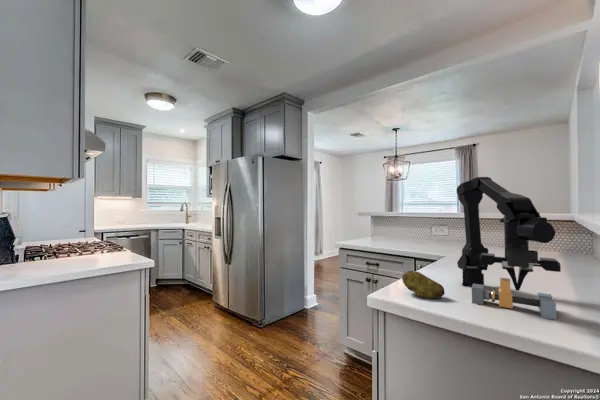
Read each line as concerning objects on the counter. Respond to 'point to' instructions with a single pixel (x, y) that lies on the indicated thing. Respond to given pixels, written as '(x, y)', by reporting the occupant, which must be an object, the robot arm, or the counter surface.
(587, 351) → the counter surface
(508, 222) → the robot arm
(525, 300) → the black rod
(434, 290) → the potato
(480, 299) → the connector
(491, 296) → the band
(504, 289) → the sleeve
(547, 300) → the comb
